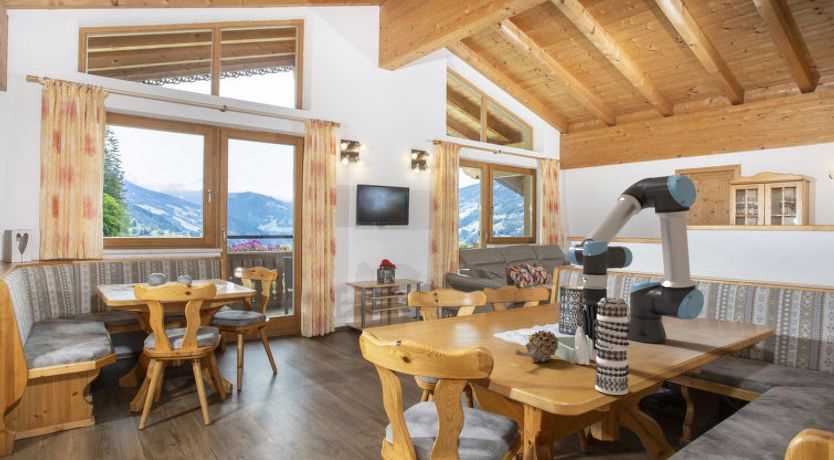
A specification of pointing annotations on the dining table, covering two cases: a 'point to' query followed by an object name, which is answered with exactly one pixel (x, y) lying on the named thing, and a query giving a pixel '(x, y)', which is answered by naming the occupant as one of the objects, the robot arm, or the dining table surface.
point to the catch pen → (567, 348)
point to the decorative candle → (612, 346)
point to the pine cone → (540, 346)
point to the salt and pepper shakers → (581, 347)
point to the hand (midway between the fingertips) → (594, 358)
